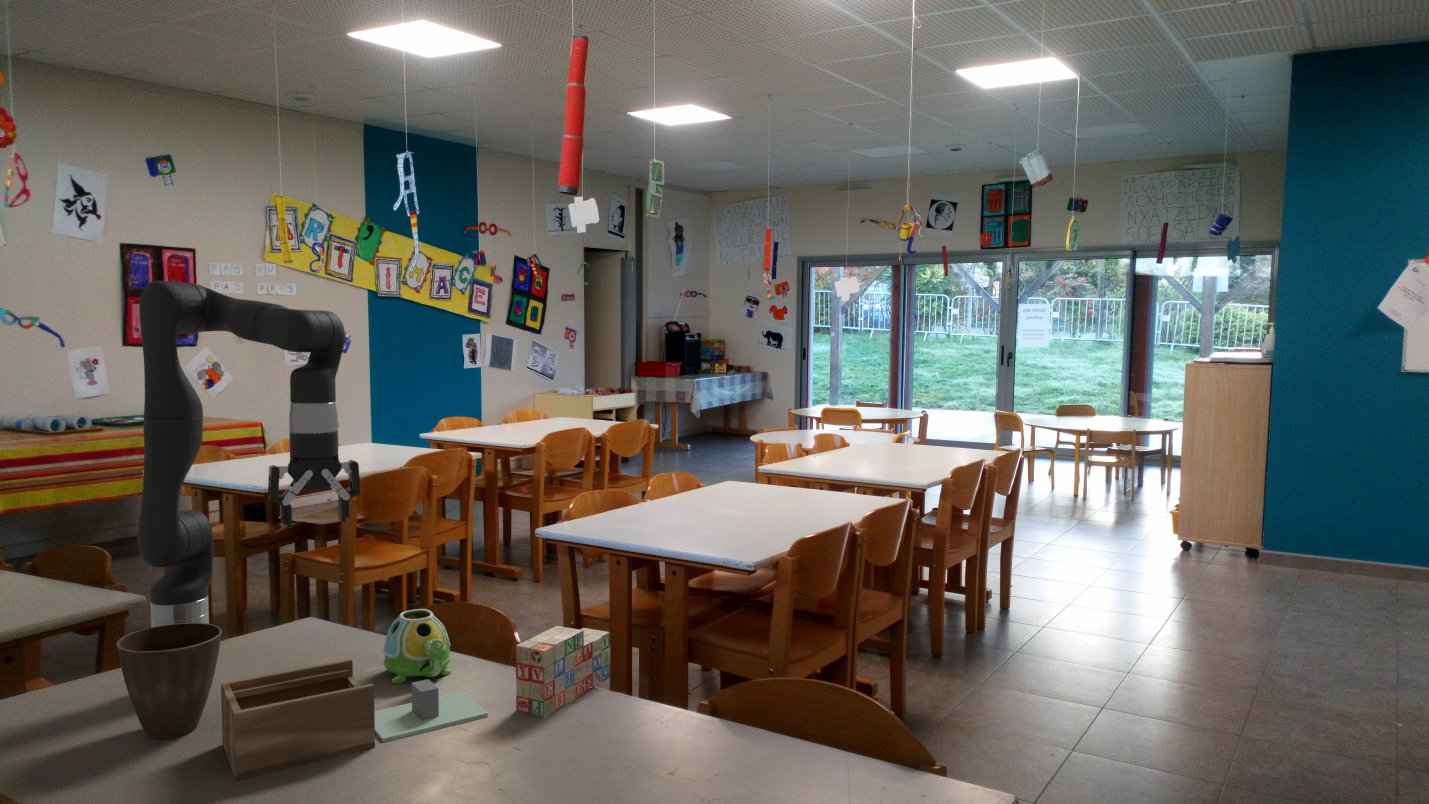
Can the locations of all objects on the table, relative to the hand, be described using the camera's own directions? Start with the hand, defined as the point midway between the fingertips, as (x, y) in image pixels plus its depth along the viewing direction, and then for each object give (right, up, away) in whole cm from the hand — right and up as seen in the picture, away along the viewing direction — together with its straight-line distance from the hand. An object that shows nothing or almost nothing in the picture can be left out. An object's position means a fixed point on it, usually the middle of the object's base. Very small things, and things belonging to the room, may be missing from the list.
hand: (315, 523), depth 155 cm
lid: (+17, -35, +4) cm, 39 cm away
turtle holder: (+10, -33, +23) cm, 42 cm away
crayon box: (+1, -35, -8) cm, 36 cm away
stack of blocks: (+40, -34, +15) cm, 55 cm away
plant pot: (-23, -34, -2) cm, 41 cm away
